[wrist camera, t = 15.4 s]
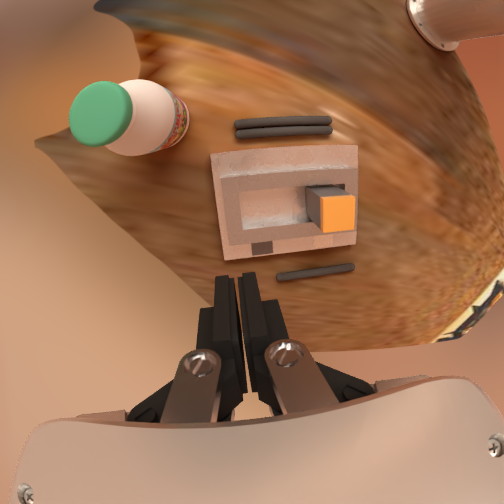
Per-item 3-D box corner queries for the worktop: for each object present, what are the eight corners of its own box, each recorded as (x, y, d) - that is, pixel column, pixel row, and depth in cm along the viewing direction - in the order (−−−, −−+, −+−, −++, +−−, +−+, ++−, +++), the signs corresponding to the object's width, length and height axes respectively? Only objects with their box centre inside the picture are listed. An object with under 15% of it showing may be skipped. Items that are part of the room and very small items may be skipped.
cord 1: (235, 139, 34) (235, 139, 33) (233, 120, 33) (233, 119, 31) (331, 134, 34) (334, 134, 33) (329, 116, 33) (333, 116, 32)
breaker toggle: (305, 186, 35) (323, 199, 29) (333, 184, 36) (355, 196, 29) (306, 214, 37) (323, 232, 31) (333, 212, 37) (354, 229, 31)
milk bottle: (137, 153, 33) (57, 181, 15) (132, 100, 30) (48, 79, 12) (192, 144, 33) (155, 158, 15) (188, 89, 30) (146, 45, 12)
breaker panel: (210, 153, 34) (209, 155, 31) (353, 144, 35) (364, 146, 32) (224, 255, 40) (224, 266, 37) (351, 240, 41) (361, 249, 38)
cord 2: (275, 279, 43) (277, 283, 42) (275, 272, 42) (276, 276, 41) (352, 268, 44) (355, 271, 42) (353, 261, 43) (356, 265, 42)
